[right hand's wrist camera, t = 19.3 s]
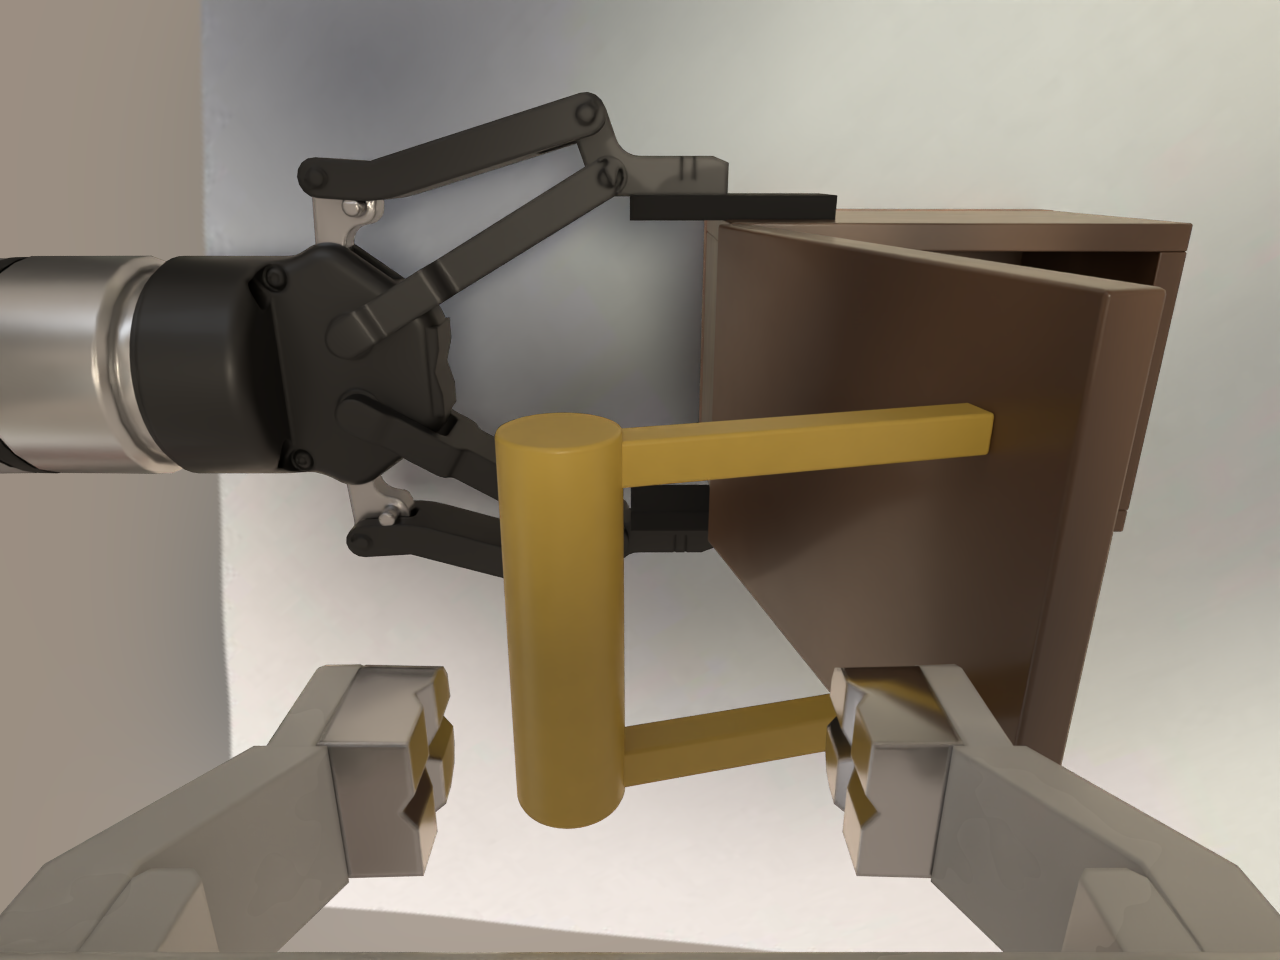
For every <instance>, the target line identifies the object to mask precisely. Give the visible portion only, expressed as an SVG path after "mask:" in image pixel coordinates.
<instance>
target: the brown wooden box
mask: <svg viewBox="0 0 1280 960" xmlns="http://www.w3.org/2000/svg"><path fill="white" fill-rule="evenodd" d="M721 224H751V225H758V226H764V227H771V228H778V229H784V230H791V231H797V232H804V233H810V234H817V235H823V236H830V237H836V238H843V239H849V240H856V241H862V242H869V243H875V244H882V245H888V246H895V247H902V248H908V249H915V250H921V251H928V252H934V253H941V254H947V255H954V256H960V257H967V258H973V259H980V260H986V261H993V262H999V263H1006V264H1012V265H1019V266H1026V267H1032V268H1039V269H1045V270H1052V271H1058V272H1065V273H1071V274H1078V275H1084V276H1091V277H1097V278H1104V279H1110V280H1117V281H1123V282H1130V283H1136V284H1143V285H1150V286H1156V287H1161V288H1162V289H1164V290H1166V298H1165V303H1164V307H1163V312H1162V316H1161V321H1160V325H1159V330H1158V334H1157V339H1156V343H1155V348H1154V352H1153V357H1152V361H1151V365H1150V370H1149V374H1148V379H1147V383H1146V388H1145V392H1144V397H1143V401H1142V406H1141V410H1140V415H1139V419H1138V424H1137V428H1136V433H1135V437H1134V442H1133V446H1132V451H1131V455H1130V460H1129V464H1128V469H1127V473H1126V478H1125V482H1124V486H1123V491H1122V495H1121V500H1120V504H1119V509H1118V513H1117V518H1116V522H1115V527H1114V531H1113V532H1121V531H1123V528H1124V523H1125V519H1126V514H1127V510H1128V508H1129V504H1130V499H1131V495H1132V490H1133V486H1134V482H1135V477H1136V473H1137V468H1138V464H1139V460H1140V455H1141V451H1142V447H1143V442H1144V438H1145V433H1146V429H1147V425H1148V420H1149V416H1150V411H1151V407H1152V403H1153V398H1154V394H1155V389H1156V385H1157V381H1158V376H1159V372H1160V367H1161V363H1162V359H1163V354H1164V350H1165V346H1166V341H1167V337H1168V332H1169V328H1170V324H1171V319H1172V315H1173V310H1174V306H1175V302H1176V297H1177V293H1178V288H1179V284H1180V280H1181V275H1182V271H1183V266H1184V262H1185V258H1186V252H1185V251H1187V248H1188V243H1189V239H1190V235H1191V230H1192V226H1193V225H1192V224H1191V223H1182V222H1171V221H1159V220H1148V219H1137V218H1126V217H1115V216H1104V215H1093V214H1082V213H1071V212H1060V211H1053V210H1043V209H836V217H835V220H705V221H704V257H703V293H702V329H701V365H700V401H699V423H702V422H712V405H713V375H714V346H715V316H716V286H717V256H718V228H719V225H721ZM708 483H709V487H710V480H708Z"/></svg>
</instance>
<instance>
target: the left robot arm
mask: <svg viewBox="0 0 1280 960" xmlns="http://www.w3.org/2000/svg"><path fill="white" fill-rule="evenodd" d="M576 143H577V145H578V148H579V150H580V153H581V156H582V159H583V162H584V164H585V167H584V168H582V169H581V170H579V171H578V172H576V173H575V174H573V175H571V176H570V177H568V178H567V179H565V180H563V181H562V182H560V183H559V184H557V185H555V186H554V187H552V188H551V189H549V190H547V191H546V192H544V193H543V194H541V195H539V196H538V197H536V198H535V199H533V200H531V201H530V202H528V203H527V204H525V205H524V206H522V207H520V208H519V209H517V210H516V211H514V212H512V213H511V214H509V215H508V216H506V217H504V218H503V219H501V220H500V221H498V222H496V223H495V224H493V225H492V226H490V227H488V228H487V229H485V230H484V231H482V232H481V233H479V234H477V235H476V236H474V237H473V238H471V239H469V240H468V241H466V242H465V243H463V244H461V245H460V246H458V247H457V248H455V249H453V250H452V251H450V252H449V253H447V254H445V255H444V256H442V257H441V258H439V259H437V260H436V261H434V262H432V263H431V264H429V265H427V266H426V267H424V268H422V269H421V270H419V271H417V272H416V273H414V274H413V275H411V276H409V277H408V278H406V279H405V278H403V277H402V276H401V275H399V274H398V273H396V272H395V271H393V270H392V269H390V268H389V267H387V266H386V265H385V264H383V263H382V262H380V261H379V260H377V259H376V258H374V257H373V256H371V255H370V254H369V253H367V252H366V251H364V250H363V249H361V248H360V247H358V246H357V245H355V244H354V238H355V235H356V232H357V231H358V230H359V228H361V227H362V226H364V225H367V224H372V223H375V222H377V221H378V220H379V219H380V218H381V217H382V215H383V213H384V200H386V199H394V198H402V197H408V196H412V195H416V194H419V193H422V192H426V191H429V190H432V189H435V188H438V187H441V186H444V185H448V184H451V183H454V182H457V181H460V180H463V179H466V178H470V177H473V176H476V175H479V174H482V173H485V172H488V171H492V170H495V169H498V168H501V167H504V166H507V165H510V164H514V163H517V162H520V161H523V160H526V159H529V158H532V157H536V156H539V155H542V154H545V153H548V152H551V151H554V150H558V149H561V148H564V147H567V146H570V145H573V144H576ZM728 166H729V163H728V162H725V161H723V160H721V159H719V158H716V157H714V156H636V155H632V154H629V153H627V152H626V151H625V150H623V149H622V148H621V146H620V145H619V144H618V142H617V140H616V137H615V134H614V131H613V128H612V125H611V122H610V119H609V116H608V114H607V111H606V108H605V106H604V104H603V102H602V100H601V99H600V98H599V97H597V96H596V95H595V94H592V93H589V92H584V93H578V94H575V95H572V96H569V97H566V98H563V99H560V100H557V101H554V102H551V103H547V104H544V105H541V106H538V107H535V108H532V109H529V110H526V111H523V112H520V113H517V114H513V115H510V116H507V117H504V118H501V119H498V120H495V121H492V122H489V123H486V124H483V125H480V126H476V127H473V128H470V129H467V130H464V131H461V132H458V133H455V134H452V135H449V136H446V137H442V138H439V139H436V140H433V141H430V142H427V143H424V144H421V145H418V146H415V147H412V148H409V149H405V150H402V151H399V152H396V153H393V154H390V155H387V156H384V157H381V158H378V159H375V160H371V161H367V160H352V159H336V158H317V157H314V158H308V159H306V160H305V161H303V162H302V163H301V165H300V166H299V168H298V174H297V178H298V182H299V185H300V186H301V188H302V189H303V191H304V192H305V193H307V194H308V195H309V196H311V197H312V200H313V214H314V228H315V242H316V244H315V245H313V246H311V247H309V248H308V249H306V250H305V251H303V252H301V253H299V254H297V255H293V256H178V257H175V258H172V259H170V260H168V261H164V260H161V259H158V258H156V257H153V256H31V257H14V258H7V259H2V258H0V473H144V474H163V473H174V472H176V471H178V470H181V469H185V470H188V471H190V472H194V473H296V472H317V473H321V474H325V475H327V476H330V477H332V478H334V479H336V480H338V481H340V482H343V483H346V484H347V486H348V491H349V496H350V502H351V507H352V512H353V517H354V522H355V525H354V527H353V528H352V529H351V530H350V532H349V533H348V535H347V541H346V543H347V545H348V548H349V549H350V550H351V551H352V552H353V553H354V554H356V555H358V556H362V557H374V556H391V555H408V554H412V555H416V556H419V557H423V558H427V559H431V560H435V561H439V562H443V563H447V564H451V565H455V566H458V567H462V568H466V569H470V570H474V571H478V572H482V573H486V574H490V575H493V576H497V577H501V578H504V576H503V561H502V545H501V529H500V518H496V517H492V516H488V515H484V514H481V513H477V512H473V511H469V510H466V509H462V508H458V507H454V506H450V505H447V504H442V503H438V502H432V501H423V500H413V497H412V496H411V495H410V493H409V492H408V491H407V490H405V489H398V488H393V487H391V486H389V485H388V484H387V483H385V482H384V480H383V479H382V476H381V475H382V474H383V473H384V472H386V471H387V470H388V469H390V468H391V467H392V466H394V465H395V464H396V463H398V462H399V461H400V460H402V459H403V458H404V459H406V460H408V461H410V462H412V463H414V464H416V465H418V466H420V467H422V468H424V469H426V470H427V471H429V472H431V473H433V474H435V475H438V476H440V477H444V478H455V479H457V480H459V481H461V482H463V483H465V484H467V485H469V486H471V487H473V488H475V489H477V490H479V491H481V492H482V493H484V494H486V495H488V496H490V497H492V498H494V499H496V500H498V501H499V498H498V482H497V466H496V450H495V437H493V436H491V435H489V434H488V433H486V432H484V431H482V430H481V429H480V428H479V427H478V426H477V424H476V423H475V422H473V421H472V420H471V419H469V418H467V417H465V416H463V415H461V414H460V413H458V412H456V411H454V410H452V406H453V405H454V404H455V402H456V393H455V381H454V378H453V376H452V373H451V370H450V367H449V364H448V361H447V358H448V353H449V348H450V342H451V330H450V318H445V316H444V313H443V311H442V309H441V308H440V306H439V304H441V303H442V302H444V301H445V300H447V299H449V298H450V297H452V296H453V295H455V294H457V293H458V292H460V291H461V290H463V289H465V288H466V287H468V286H470V285H471V284H473V283H474V282H476V281H478V280H479V279H481V278H483V277H484V276H486V275H487V274H489V273H491V272H492V271H494V270H496V269H497V268H499V267H500V266H502V265H504V264H505V263H507V262H508V261H510V260H512V259H513V258H515V257H517V256H518V255H520V254H521V253H523V252H525V251H526V250H528V249H530V248H531V247H533V246H534V245H536V244H538V243H539V242H541V241H543V240H544V239H546V238H547V237H549V236H551V235H552V234H554V233H556V232H557V231H559V230H560V229H562V228H564V227H565V226H567V225H569V224H570V223H572V222H573V221H575V220H577V219H578V218H580V217H582V216H583V215H585V214H586V213H588V212H590V211H591V210H593V209H594V208H596V207H598V206H599V205H601V204H603V203H604V202H606V201H607V200H609V199H611V198H612V197H614V196H630V220H835V217H836V204H837V195H828V194H808V193H728ZM709 495H710V487H709V485H650V486H639V487H631V508H629V506H628V504H627V502H626V501H625V500H624V499H623V524H624V558H625V557H626V556H628V555H629V554H632V553H637V552H703V551H706V550H708V549H711V548H714V547H713V546H712V545H711V544H710V542H709V541H708V524H709Z"/></svg>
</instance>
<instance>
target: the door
mask: <svg viewBox="0 0 1280 960" xmlns="http://www.w3.org/2000/svg"><path fill="white" fill-rule="evenodd" d="M1165 298H1166V290H1164V289H1162V288H1161V287H1156V286H1150V285H1143V284H1136V283H1130V282H1123V281H1117V280H1110V279H1104V278H1097V277H1091V276H1084V275H1078V274H1071V273H1065V272H1058V271H1052V270H1045V269H1039V268H1032V267H1026V266H1019V265H1012V264H1006V263H999V262H993V261H986V260H980V259H973V258H967V257H960V256H954V255H947V254H941V253H934V252H928V251H921V250H915V249H908V248H902V247H895V246H888V245H882V244H875V243H869V242H862V241H856V240H849V239H843V238H836V237H830V236H823V235H817V234H810V233H804V232H797V231H791V230H784V229H778V228H771V227H764V226H758V225H751V224H721V225H719V228H718V256H717V286H716V316H715V346H714V375H713V405H712V422H702V423H688V424H675V425H661V426H647V427H634V428H621V427H620V425H618V424H617V423H616V422H614V421H612V420H610V419H607V418H603V417H600V416H595V415H590V414H582V413H545V414H537V415H530V416H526V417H521V418H518V419H515V420H512V421H509V422H507V423H505V424H503V425H501V426H500V427H499V428H498V429H497V431H496V433H495V450H496V466H497V482H498V498H499V513H500V529H501V545H502V561H503V576H504V592H505V608H506V623H507V639H508V655H509V671H510V686H511V702H512V718H513V734H514V749H515V765H516V781H517V796H518V800H519V803H520V805H521V807H522V808H523V810H524V811H525V812H526V813H527V814H528V815H529V816H530V817H531V818H532V819H534V820H535V821H537V822H539V823H541V824H544V825H546V826H550V827H554V828H563V829H572V828H581V827H585V826H589V825H592V824H595V823H597V822H599V821H601V820H603V819H604V818H606V817H607V816H609V815H610V814H611V813H612V812H613V811H614V810H615V809H616V808H617V807H618V805H619V804H620V802H621V800H622V798H623V795H624V792H625V787H628V786H634V785H640V784H645V783H651V782H656V781H662V780H667V779H673V778H679V777H684V776H690V775H695V774H701V773H706V772H712V771H717V770H723V769H729V768H734V767H740V766H745V765H751V764H756V763H762V762H768V761H773V760H779V759H784V758H790V757H795V756H801V755H806V754H812V753H818V752H823V751H825V747H826V732H827V726H828V724H829V723H830V722H831V721H832V720H833V719H834V718H835V717H836V716H837V715H836V712H835V710H834V707H833V704H832V701H831V698H830V694H824V695H818V696H812V697H806V698H800V699H794V700H787V701H781V702H775V703H769V704H763V705H757V706H750V707H744V708H738V709H732V710H726V711H719V712H713V713H707V714H701V715H695V716H689V717H682V718H676V719H670V720H664V721H658V722H652V723H645V724H639V725H633V726H627V727H625V688H624V524H623V488H628V487H639V486H650V485H661V484H672V483H683V482H694V481H705V480H710V495H709V524H708V541H709V542H710V544H711V545H712V546H713V547H714V549H715V550H716V551H717V552H718V554H719V555H720V556H721V557H722V559H723V560H724V561H725V562H726V564H727V565H728V566H729V567H730V569H731V570H732V571H733V572H734V574H735V575H736V576H737V577H738V579H739V580H740V581H741V582H742V583H743V585H744V586H745V587H746V588H747V590H748V591H749V592H750V593H751V595H752V596H753V597H754V598H755V600H756V601H757V602H758V603H759V605H760V606H761V607H762V608H763V610H764V611H765V612H766V613H767V615H768V616H769V617H770V618H771V620H772V621H773V622H774V623H775V625H776V626H777V627H778V628H779V630H780V631H781V632H782V633H783V635H784V636H785V637H786V638H787V640H788V641H789V642H790V643H791V645H792V646H793V647H794V648H795V650H796V651H797V652H798V653H799V655H800V656H801V657H802V658H803V660H804V661H805V662H806V663H807V665H808V666H809V667H810V668H811V670H812V671H813V672H814V673H815V675H816V676H817V677H818V678H819V680H820V681H821V682H822V683H823V685H824V686H825V687H826V688H827V690H828V691H829V692H830V690H831V680H832V676H833V672H834V669H835V668H843V667H889V666H915V665H941V664H956V665H957V666H959V667H961V668H962V669H963V671H964V672H965V674H966V675H967V677H968V678H969V680H970V681H971V683H972V684H973V686H974V687H975V689H976V690H977V692H978V693H979V695H980V696H981V698H982V699H983V701H984V702H985V704H986V705H987V707H988V708H989V710H990V711H991V713H992V714H993V716H994V717H995V719H996V720H997V722H998V723H999V725H1000V726H1001V728H1002V729H1003V731H1004V732H1005V734H1006V735H1007V737H1008V738H1009V740H1010V741H1011V743H1012V744H1013V746H1027V747H1029V748H1031V749H1032V750H1034V751H1036V752H1038V753H1039V754H1041V755H1043V756H1045V757H1046V758H1048V759H1050V760H1052V761H1054V762H1055V763H1057V764H1059V765H1061V764H1062V760H1063V755H1064V751H1065V746H1066V742H1067V737H1068V733H1069V728H1070V724H1071V719H1072V715H1073V711H1074V706H1075V702H1076V697H1077V693H1078V688H1079V684H1080V679H1081V675H1082V670H1083V666H1084V661H1085V657H1086V652H1087V648H1088V643H1089V639H1090V634H1091V630H1092V625H1093V621H1094V616H1095V612H1096V607H1097V603H1098V598H1099V594H1100V590H1101V585H1102V581H1103V576H1104V572H1105V567H1106V563H1107V558H1108V554H1109V549H1110V545H1111V540H1112V536H1113V531H1114V527H1115V522H1116V518H1117V513H1118V509H1119V504H1120V500H1121V495H1122V491H1123V486H1124V482H1125V478H1126V473H1127V469H1128V464H1129V460H1130V455H1131V451H1132V446H1133V442H1134V437H1135V433H1136V428H1137V424H1138V419H1139V415H1140V410H1141V406H1142V401H1143V397H1144V392H1145V388H1146V383H1147V379H1148V374H1149V370H1150V365H1151V361H1152V357H1153V352H1154V348H1155V343H1156V339H1157V334H1158V330H1159V325H1160V321H1161V316H1162V312H1163V307H1164V303H1165Z"/></svg>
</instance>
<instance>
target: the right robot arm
mask: <svg viewBox="0 0 1280 960" xmlns="http://www.w3.org/2000/svg"><path fill="white" fill-rule="evenodd" d="M449 698H450V690H449V683H448V675H447V672H446V670H445V669H444V667H443V666H399V665H365V666H363V665H361V664H355V665H324V666H322V667H319V668H318V669H317V670H316V671H315V673H314V674H313V676H312V677H311V679H310V680H309V682H308V683H307V685H306V687H305V688H304V690H303V691H302V693H301V694H300V696H299V697H298V699H297V700H296V702H295V703H294V705H293V706H292V708H291V709H290V711H289V712H288V714H287V715H286V717H285V718H284V720H283V721H282V723H281V725H280V726H279V728H278V729H277V731H276V732H275V734H274V735H273V737H272V738H271V740H270V741H269V743H268V744H267V746H253V747H251V748H249V749H248V750H246V751H244V752H242V753H241V754H239V755H237V756H235V757H233V758H232V759H230V760H228V761H226V762H225V763H223V764H221V765H219V766H218V767H216V768H214V769H212V770H211V771H209V772H207V773H205V774H203V775H202V776H200V777H198V778H196V779H195V780H193V781H191V782H189V783H187V784H186V785H184V786H182V787H180V788H179V789H177V790H175V791H173V792H171V793H170V794H168V795H166V796H164V797H163V798H161V799H159V800H157V801H155V802H154V803H152V804H150V805H148V806H147V807H145V808H143V809H141V810H140V811H138V812H136V813H134V814H132V815H131V816H129V817H127V818H125V819H124V820H122V821H120V822H118V823H117V824H115V825H113V826H111V827H109V828H108V829H106V830H104V831H102V832H101V833H99V834H97V835H95V836H93V837H92V838H90V839H88V840H86V841H85V842H83V843H81V844H79V845H77V846H76V847H74V848H72V849H70V850H69V851H67V852H65V853H63V854H62V855H60V856H58V857H56V858H54V859H53V860H51V861H49V862H47V863H46V864H44V865H43V866H42V867H41V868H40V870H39V871H38V872H37V873H36V874H35V875H34V877H33V878H32V879H31V880H30V881H29V882H28V884H27V885H26V886H25V887H24V888H23V889H22V890H21V892H20V893H19V894H18V895H17V896H16V897H15V898H14V900H13V901H12V902H11V903H10V904H9V905H8V907H7V908H6V909H5V910H4V911H3V912H2V913H1V915H0V960H1280V914H1279V913H1278V912H1277V911H1276V910H1275V909H1274V907H1273V906H1272V905H1271V904H1270V903H1269V902H1268V900H1267V899H1266V898H1265V897H1264V896H1263V895H1262V893H1261V892H1260V891H1259V890H1258V889H1257V888H1256V886H1255V885H1254V884H1253V883H1252V882H1251V881H1250V879H1249V878H1248V877H1247V876H1246V875H1245V874H1244V873H1243V871H1242V870H1241V869H1240V868H1239V867H1238V866H1237V865H1236V864H1234V863H1232V862H1230V861H1228V860H1227V859H1225V858H1223V857H1221V856H1220V855H1218V854H1216V853H1214V852H1213V851H1211V850H1209V849H1207V848H1206V847H1204V846H1202V845H1200V844H1198V843H1197V842H1195V841H1193V840H1191V839H1190V838H1188V837H1186V836H1184V835H1183V834H1181V833H1179V832H1177V831H1175V830H1174V829H1172V828H1170V827H1168V826H1167V825H1165V824H1163V823H1161V822H1160V821H1158V820H1156V819H1154V818H1152V817H1151V816H1149V815H1147V814H1145V813H1144V812H1142V811H1140V810H1138V809H1137V808H1135V807H1133V806H1131V805H1130V804H1128V803H1126V802H1124V801H1122V800H1121V799H1119V798H1117V797H1115V796H1114V795H1112V794H1110V793H1108V792H1107V791H1105V790H1103V789H1101V788H1099V787H1098V786H1096V785H1094V784H1092V783H1091V782H1089V781H1087V780H1085V779H1084V778H1082V777H1080V776H1078V775H1077V774H1075V773H1073V772H1071V771H1069V770H1068V769H1066V768H1064V767H1062V766H1061V765H1059V764H1057V763H1055V762H1054V761H1052V760H1050V759H1048V758H1046V757H1045V756H1043V755H1041V754H1039V753H1038V752H1036V751H1034V750H1032V749H1031V748H1029V747H1027V746H1013V744H1012V743H1011V741H1010V740H1009V738H1008V737H1007V735H1006V734H1005V732H1004V731H1003V729H1002V728H1001V726H1000V725H999V723H998V722H997V720H996V719H995V717H994V716H993V714H992V713H991V711H990V710H989V708H988V707H987V705H986V704H985V702H984V701H983V699H982V698H981V696H980V695H979V693H978V692H977V690H976V689H975V687H974V686H973V684H972V683H971V681H970V680H969V678H968V677H967V675H966V674H965V672H964V671H963V669H962V668H961V667H959V666H957V665H956V664H941V665H915V666H889V667H843V668H835V669H834V672H833V676H832V680H831V690H830V698H831V701H832V704H833V707H834V710H835V712H836V715H837V716H836V717H835V718H834V719H833V720H832V721H831V722H830V723H829V724H828V726H827V732H826V747H825V752H826V772H827V777H828V783H829V788H830V792H831V795H832V799H833V802H834V804H835V805H836V806H838V807H839V808H840V809H841V810H843V811H844V822H843V835H844V838H845V841H846V844H847V847H848V850H849V853H850V857H851V860H852V863H853V866H854V869H855V872H856V875H857V876H878V877H914V878H931V882H932V883H933V884H934V885H935V886H936V887H937V888H938V889H939V890H940V891H941V892H942V893H943V894H944V895H945V896H946V897H947V898H948V899H949V900H950V901H951V902H953V903H954V904H955V905H956V906H957V907H958V908H959V909H960V910H961V911H962V912H963V913H964V914H965V915H966V916H967V917H968V918H969V919H970V920H971V921H972V922H973V923H974V924H975V925H976V926H977V927H978V928H979V929H980V930H981V931H982V932H983V933H984V934H985V935H987V936H988V937H989V938H990V939H991V940H992V941H993V942H994V943H995V944H996V945H997V946H998V947H999V948H1000V949H1001V950H1002V951H1003V952H277V951H278V950H279V949H280V948H281V947H282V946H283V945H285V944H286V943H287V942H288V941H289V940H290V939H291V938H292V937H293V936H294V935H295V934H296V933H297V932H298V931H299V930H300V929H301V928H302V927H303V926H304V925H305V924H306V923H307V922H308V921H309V920H310V919H311V918H312V917H313V916H315V914H317V913H318V912H319V911H320V910H321V909H322V908H323V907H324V906H325V905H326V904H327V903H328V902H329V901H330V900H331V899H332V898H333V897H334V896H335V895H336V894H337V893H338V892H339V891H340V890H341V889H342V888H343V887H344V886H345V885H347V884H348V883H349V879H348V878H366V877H400V876H424V873H425V869H426V866H427V863H428V860H429V857H430V854H431V850H432V847H433V844H434V841H435V838H436V835H437V822H436V811H437V810H439V809H440V808H441V807H442V806H444V805H445V804H446V802H447V798H448V795H449V791H450V788H451V783H452V776H453V769H454V747H455V743H454V731H453V726H452V724H451V723H450V722H449V721H448V720H447V719H446V718H445V717H444V716H443V715H444V712H445V710H446V707H447V704H448V701H449Z"/></svg>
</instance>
